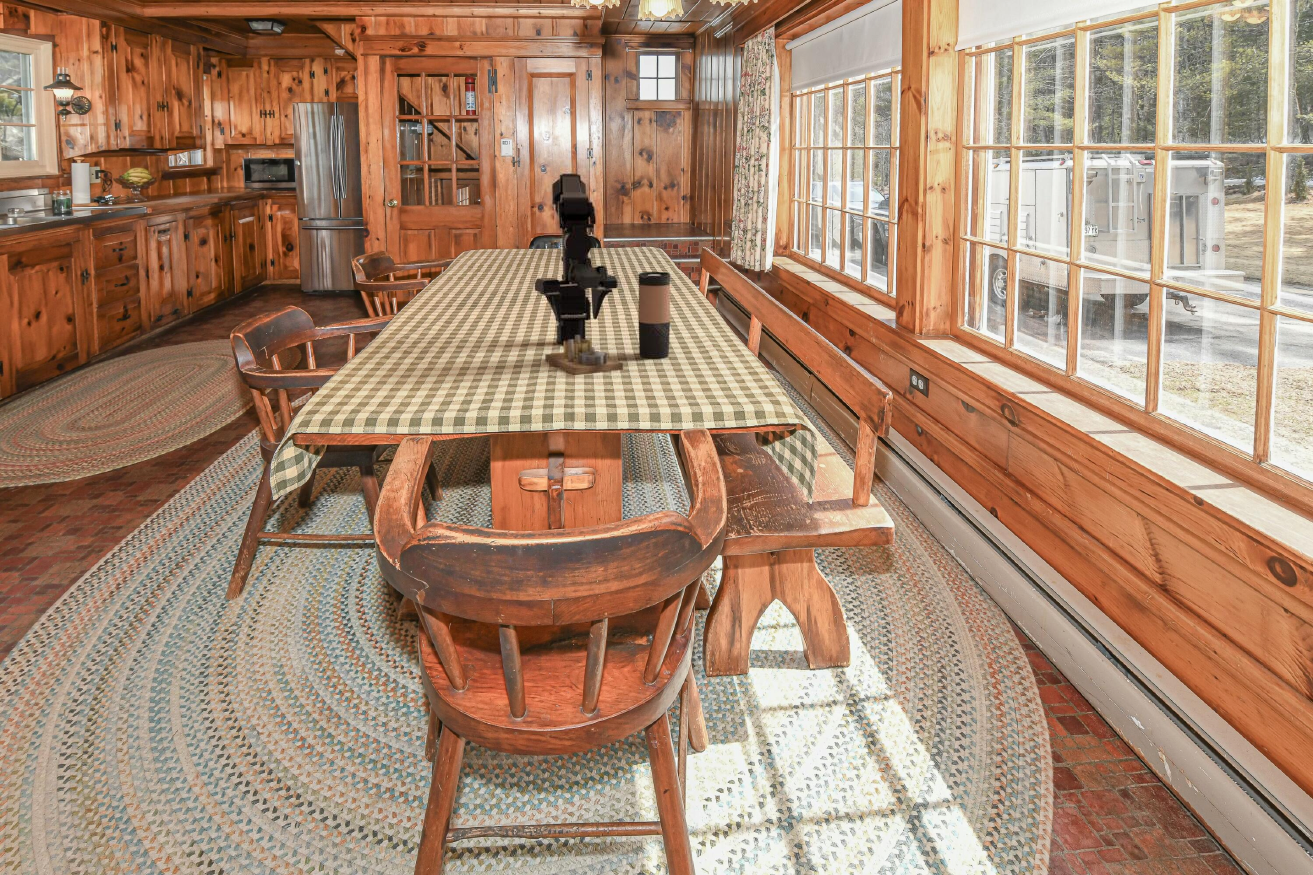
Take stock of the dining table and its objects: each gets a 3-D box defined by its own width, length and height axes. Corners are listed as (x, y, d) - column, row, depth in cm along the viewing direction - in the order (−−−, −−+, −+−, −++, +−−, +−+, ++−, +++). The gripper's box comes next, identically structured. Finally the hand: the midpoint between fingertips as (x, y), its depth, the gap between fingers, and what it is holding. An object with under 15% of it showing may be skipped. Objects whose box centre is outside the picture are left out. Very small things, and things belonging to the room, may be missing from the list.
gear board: (590, 355, 234) (590, 329, 232) (622, 369, 220) (622, 341, 218) (545, 360, 228) (544, 333, 227) (575, 375, 214) (574, 346, 212)
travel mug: (669, 352, 238) (669, 271, 232) (670, 359, 231) (671, 275, 225) (638, 352, 238) (638, 271, 232) (638, 359, 230) (638, 275, 225)
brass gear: (585, 352, 231) (584, 338, 230) (597, 357, 225) (597, 342, 224) (558, 355, 228) (558, 340, 227) (570, 360, 222) (570, 345, 221)
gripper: (552, 258, 208) (554, 329, 212) (628, 254, 217) (628, 322, 221) (532, 253, 217) (534, 322, 222) (606, 250, 226) (607, 315, 231)
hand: (577, 320), depth 224 cm, fingers open, 9 cm apart
